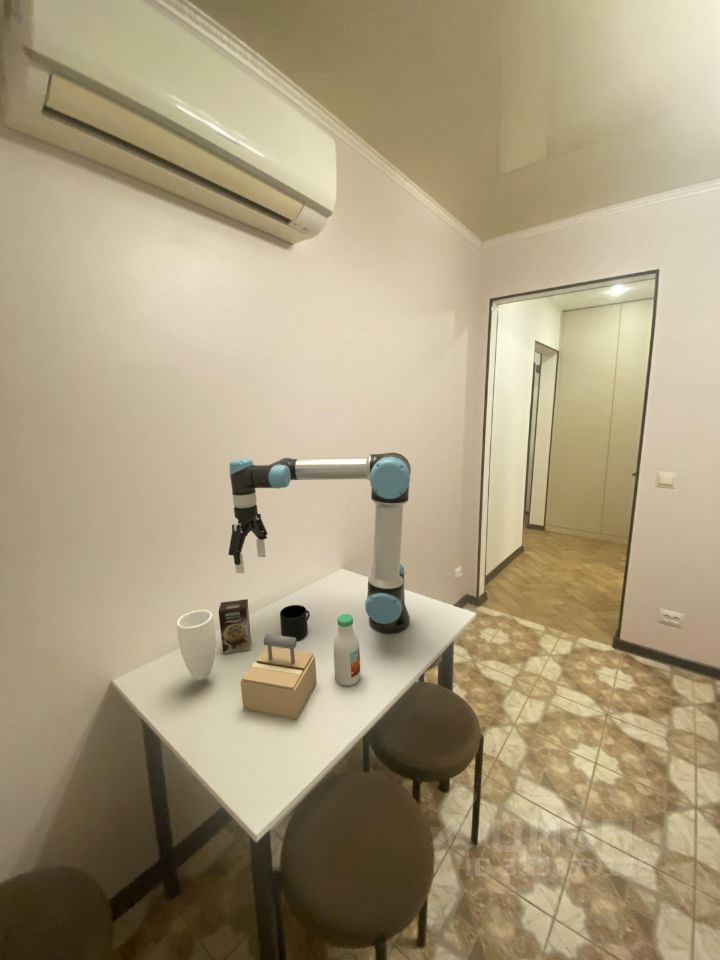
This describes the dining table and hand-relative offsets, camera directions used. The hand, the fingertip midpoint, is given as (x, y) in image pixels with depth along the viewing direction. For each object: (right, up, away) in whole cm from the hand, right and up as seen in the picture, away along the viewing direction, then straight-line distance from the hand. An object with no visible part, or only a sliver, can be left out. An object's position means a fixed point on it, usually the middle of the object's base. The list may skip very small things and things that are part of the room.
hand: (251, 564), depth 134 cm
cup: (-10, -32, -18) cm, 38 cm away
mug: (+15, -26, +6) cm, 31 cm away
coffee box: (-4, -29, -1) cm, 29 cm away
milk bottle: (+34, -31, -17) cm, 49 cm away
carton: (+15, -32, -24) cm, 43 cm away
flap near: (+16, -22, -22) cm, 35 cm away
